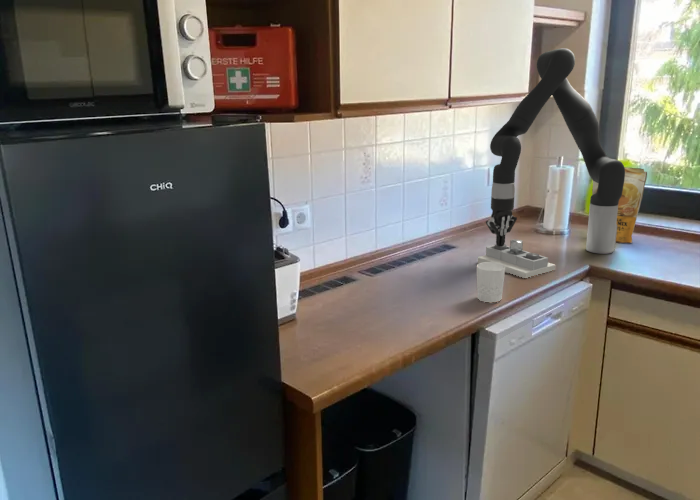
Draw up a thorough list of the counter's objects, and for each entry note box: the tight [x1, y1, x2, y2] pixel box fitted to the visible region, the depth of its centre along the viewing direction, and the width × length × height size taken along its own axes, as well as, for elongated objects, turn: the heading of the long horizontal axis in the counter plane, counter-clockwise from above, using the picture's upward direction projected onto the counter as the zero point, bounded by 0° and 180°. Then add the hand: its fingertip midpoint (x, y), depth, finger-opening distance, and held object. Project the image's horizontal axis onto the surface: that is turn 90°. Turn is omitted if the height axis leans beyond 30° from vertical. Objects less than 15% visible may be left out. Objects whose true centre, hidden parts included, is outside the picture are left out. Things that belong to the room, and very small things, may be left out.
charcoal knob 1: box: [494, 243, 508, 251], centre depth 198 cm, size 4×4×4 cm
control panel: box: [477, 244, 556, 279], centre depth 192 cm, size 14×21×5 cm, turn 32°
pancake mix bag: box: [591, 166, 648, 244], centre depth 219 cm, size 7×19×28 cm, turn 44°
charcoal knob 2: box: [526, 252, 540, 260], centre depth 186 cm, size 4×4×4 cm
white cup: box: [476, 262, 506, 303], centre depth 164 cm, size 8×8×10 cm
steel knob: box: [509, 238, 524, 253], centre depth 191 cm, size 4×4×4 cm
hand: (500, 245), depth 197 cm, fingers closed
